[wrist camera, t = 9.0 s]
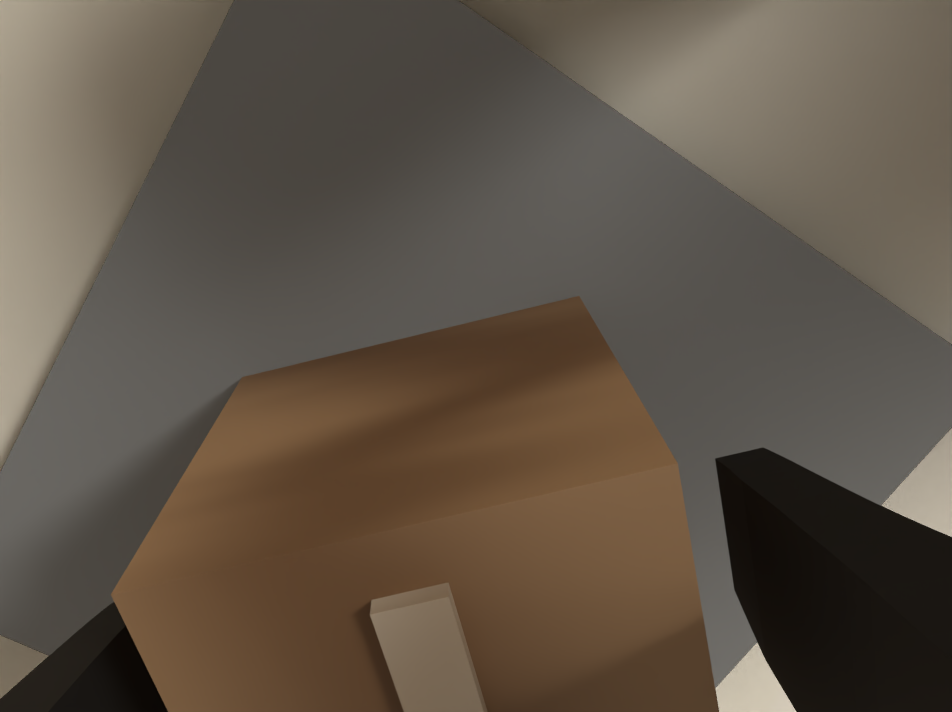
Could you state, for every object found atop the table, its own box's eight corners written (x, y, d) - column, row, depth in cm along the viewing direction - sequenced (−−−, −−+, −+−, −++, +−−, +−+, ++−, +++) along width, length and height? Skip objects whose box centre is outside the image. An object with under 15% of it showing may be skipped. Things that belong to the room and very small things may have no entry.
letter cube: (579, 296, 11) (685, 474, 7) (635, 579, 13) (751, 886, 8) (242, 377, 12) (101, 608, 7) (342, 645, 13) (287, 983, 9)
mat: (972, 362, 13) (997, 377, 12) (547, 839, 16) (552, 867, 15) (300, -107, 10) (292, -116, 9) (-46, 583, 13) (-67, 607, 13)
